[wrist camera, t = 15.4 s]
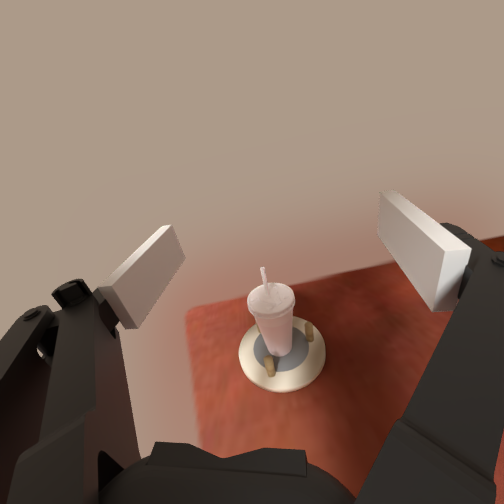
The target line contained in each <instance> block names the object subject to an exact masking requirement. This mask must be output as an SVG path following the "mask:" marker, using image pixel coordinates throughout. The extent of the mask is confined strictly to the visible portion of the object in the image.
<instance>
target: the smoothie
mask: <svg viewBox="0 0 504 504" xmlns="http://www.w3.org/2000/svg"><path fill="white" fill-rule="evenodd" d="M260 269H261V274H262V279H263V285H260V286H258V287H256V288H255V289H254V290H252V291H251V293H250V294H249V296H248V298H247V303H248V308H249V311H250V312H251V314H252V315H254V318H255V320H256V322H257V325H258V327H259V329H260V332H261V334H262V336H263V339H264V341H265V344H266V346H267V348H268V351H269V352H270V353H271V354H272V355H274V356H278V357H281V356H285V355H287V354H288V353H289V352H290V351H291V349H292V320H293V307H294V305H295V297H294V293H293V290H292V289H291V288H290V287H288V286H287V285H285V284H281V283H267V278H266V272H265V268H264V267H261V268H260Z"/></svg>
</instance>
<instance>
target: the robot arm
mask: <svg viewBox="0 0 504 504" xmlns="http://www.w3.org/2000/svg"><path fill="white" fill-rule="evenodd" d="M377 235H378V237H379V238H380V240H381V241H382V242H383V244H384V245H385V247H386V248H387V249H388V251H389V252H390V254H391V255H392V256H393V258H394V259H395V261H396V262H397V263H398V265H399V266H400V268H401V269H402V270H403V272H404V273H405V275H406V276H407V277H408V279H409V280H410V282H411V283H412V284H413V286H414V287H415V289H416V290H417V291H418V293H419V294H420V296H421V297H422V298H423V300H424V301H425V303H426V304H427V305H428V307H429V308H430V310H431V311H432V312H440V311H454V312H453V314H452V316H451V318H450V320H449V322H448V324H447V326H446V328H445V330H444V332H443V334H442V336H441V338H440V341H439V343H438V345H437V347H436V349H435V351H434V353H433V355H432V357H431V359H430V361H429V363H428V365H427V367H426V369H425V371H424V373H423V375H422V377H421V379H420V381H419V383H418V386H417V388H416V390H415V392H414V394H413V396H412V398H411V400H410V402H409V404H408V406H407V408H406V410H405V412H404V414H403V416H402V417H401V419H397V421H396V422H395V424H394V425H393V427H392V429H391V431H390V432H389V434H388V436H387V438H386V440H385V442H384V444H383V446H382V448H381V450H380V452H379V454H378V456H377V458H376V460H375V462H374V464H373V466H372V468H371V470H370V472H369V474H368V476H367V478H366V480H365V482H364V484H363V486H362V488H361V490H360V492H359V494H358V496H357V498H355V497H354V496H353V495H352V493H351V492H350V491H349V490H348V489H347V488H346V487H345V486H344V485H343V484H342V483H340V482H339V481H338V480H337V479H336V478H334V477H333V476H332V475H330V474H329V473H328V472H326V471H324V470H322V469H321V468H319V467H317V466H315V465H312V464H310V463H308V461H307V457H306V452H305V450H295V449H277V448H262V449H258V450H254V451H251V452H247V453H243V454H239V455H236V456H232V457H228V458H220V457H217V456H215V455H213V454H211V453H208V452H206V451H204V450H202V449H200V448H197V447H195V446H193V445H191V444H186V443H169V442H155V445H154V447H153V450H152V452H151V455H150V456H147V457H145V458H143V459H141V457H140V453H139V449H138V443H137V437H136V431H135V425H134V419H133V413H132V407H131V402H130V396H129V390H128V384H127V378H126V372H125V366H124V360H123V354H122V349H121V342H120V337H119V332H118V330H117V329H116V327H115V326H116V325H117V324H118V322H119V321H120V322H121V324H122V325H123V327H124V328H125V329H138V328H139V327H140V325H141V324H142V322H143V321H144V319H145V318H146V316H147V315H148V313H149V312H150V311H151V309H152V307H153V306H154V304H155V303H156V302H157V300H158V299H159V297H160V296H161V294H162V293H163V291H164V290H165V288H166V287H167V285H168V284H169V282H170V281H171V279H172V277H173V276H174V275H175V273H176V272H177V270H178V269H179V267H180V266H181V264H182V263H183V261H184V260H185V256H184V254H183V251H182V248H181V247H180V244H179V241H178V239H177V236H176V234H175V231H174V229H173V226H172V225H167V226H161V227H160V228H159V229H158V230H157V231H156V232H155V233H154V234H153V235H152V236H151V237H150V238H149V239H148V240H147V241H146V242H145V243H144V244H142V246H140V247H139V248H138V249H137V250H136V251H135V252H134V253H133V254H132V255H131V256H130V257H129V258H128V259H127V260H126V261H124V263H122V264H121V265H120V266H119V267H118V268H117V269H116V270H115V271H114V272H113V273H112V274H111V275H110V276H109V277H108V278H107V279H106V280H104V281H103V282H102V283H101V284H100V285H99V286H98V288H97V289H96V290H95V291H94V292H93V293H92V292H91V291H90V289H89V288H88V286H87V285H86V284H85V282H84V280H83V279H75V280H72V281H69V282H67V283H65V284H63V285H61V286H60V287H58V288H57V289H55V290H54V291H53V293H52V296H53V297H54V299H55V300H56V301H57V302H58V304H59V305H60V306H61V307H62V310H60V311H56V312H52V311H51V309H50V308H49V307H48V306H47V305H42V306H38V307H36V308H32V309H30V310H28V311H27V312H25V313H24V314H23V315H22V316H20V318H18V319H17V320H16V321H15V323H14V324H13V325H12V327H11V328H10V329H9V330H8V332H7V333H6V334H5V335H4V337H3V338H2V339H1V340H0V504H495V499H496V485H495V483H494V471H495V466H496V461H497V457H498V452H499V448H500V443H501V438H502V434H503V429H504V252H495V251H493V250H492V249H490V248H489V247H488V246H486V245H485V244H483V243H482V242H480V241H479V240H477V239H474V237H473V236H472V235H470V234H467V232H466V231H464V230H463V229H461V228H460V227H458V226H455V225H452V224H449V223H440V224H438V223H437V222H436V221H434V220H433V219H432V218H431V217H429V216H428V215H427V214H425V213H424V212H423V211H421V210H420V209H419V208H417V207H416V206H415V205H413V204H412V203H411V202H409V201H408V200H407V199H406V198H404V197H403V196H402V195H400V194H399V193H398V192H396V191H395V190H390V191H384V192H379V212H378V232H377ZM458 299H459V302H458V304H457V301H458ZM456 305H457V306H456ZM37 348H38V349H39V351H40V352H42V354H43V356H42V358H41V357H40V356H39V354H38V352H37Z"/></svg>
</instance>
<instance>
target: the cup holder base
mask: <svg viewBox="0 0 504 504" xmlns="http://www.w3.org/2000/svg"><path fill="white" fill-rule="evenodd" d="M255 321H256V320H255ZM325 358H326V351H325V343H324V340H323V337H322V335H321V334H320V332H319V331H318V330H317V328H316V327H315V326H313V324H312V323H311V322H308V321H306V320H304V319H302V318H299V317H295V316H293V320H292V349H291V351H290V352H289V353H288V354H287V355H285V356H281V357H278V356H274V355H272V354H271V353H270V352H269V351H268V348H267V346H266V344H265V341H264V339H263V336H262V334H261V332H260V329H259V327H258V325H257V322H256V324H255V325H253V326H252V327H251V328H250V329H249V330H248V331H247V332H246V334H245V335H244V337H243V338H242V341H241V343H240V347H239V359H240V363H241V366H242V369H243V371H244V373H245V375H246V376H247V378H248V379H249V380H250V381H251V382H252V383H253V384H255V385H256V386H258V387H260V388H262V389H264V390H267V391H270V392H276V393H287V392H293V391H296V390H299V389H302V388H304V387H306V386H307V385H309V384H310V383H312V382H313V381H314V380H315V379H316V378H317V377H318V375H319V374H320V372H321V371H322V369H323V366H324V363H325Z"/></svg>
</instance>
